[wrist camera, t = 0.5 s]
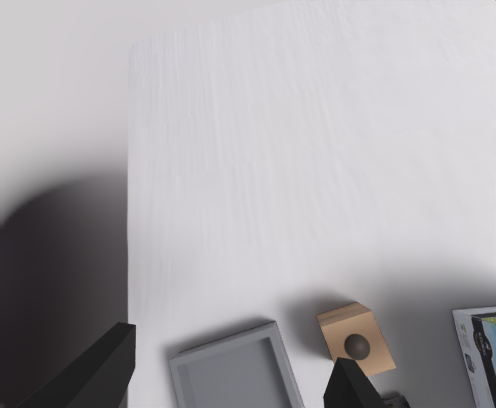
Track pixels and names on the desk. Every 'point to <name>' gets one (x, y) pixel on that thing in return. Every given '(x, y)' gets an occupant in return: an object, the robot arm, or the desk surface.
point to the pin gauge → (397, 402)
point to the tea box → (479, 351)
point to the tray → (237, 372)
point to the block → (356, 338)
